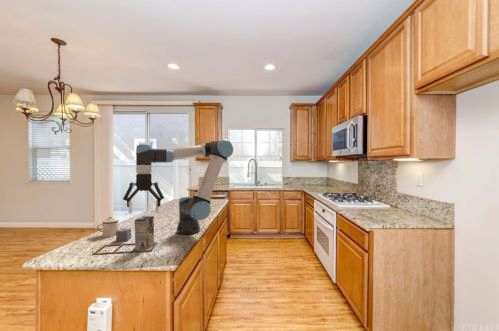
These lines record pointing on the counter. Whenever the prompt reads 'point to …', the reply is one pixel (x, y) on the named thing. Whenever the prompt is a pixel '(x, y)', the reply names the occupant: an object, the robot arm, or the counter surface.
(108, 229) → the teacup with lid
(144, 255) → the counter surface
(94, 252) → the brown flat frame
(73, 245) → the counter surface
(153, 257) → the counter surface
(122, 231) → the die
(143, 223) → the coffee box
